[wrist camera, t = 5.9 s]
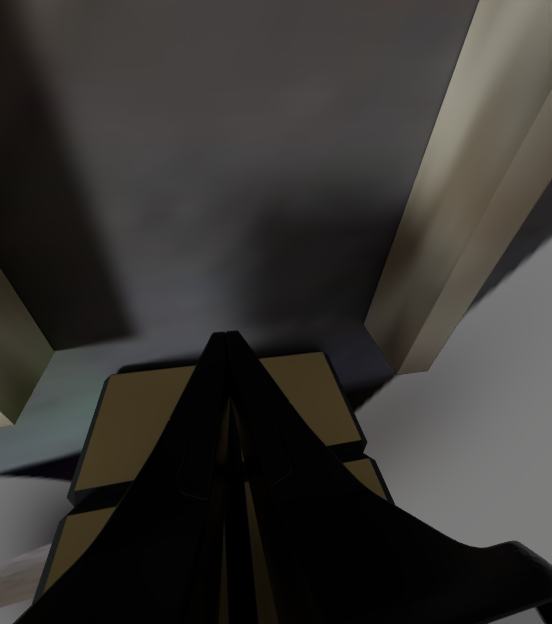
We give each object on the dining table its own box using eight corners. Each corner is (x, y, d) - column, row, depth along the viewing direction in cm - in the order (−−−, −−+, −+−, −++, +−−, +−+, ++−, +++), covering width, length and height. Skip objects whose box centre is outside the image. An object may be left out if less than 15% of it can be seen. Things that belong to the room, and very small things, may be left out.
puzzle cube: (302, 441, 20) (361, 660, 12) (155, 467, 18) (120, 743, 11) (327, 345, 14) (478, 673, 6) (104, 369, 12) (-76, 887, 4)
